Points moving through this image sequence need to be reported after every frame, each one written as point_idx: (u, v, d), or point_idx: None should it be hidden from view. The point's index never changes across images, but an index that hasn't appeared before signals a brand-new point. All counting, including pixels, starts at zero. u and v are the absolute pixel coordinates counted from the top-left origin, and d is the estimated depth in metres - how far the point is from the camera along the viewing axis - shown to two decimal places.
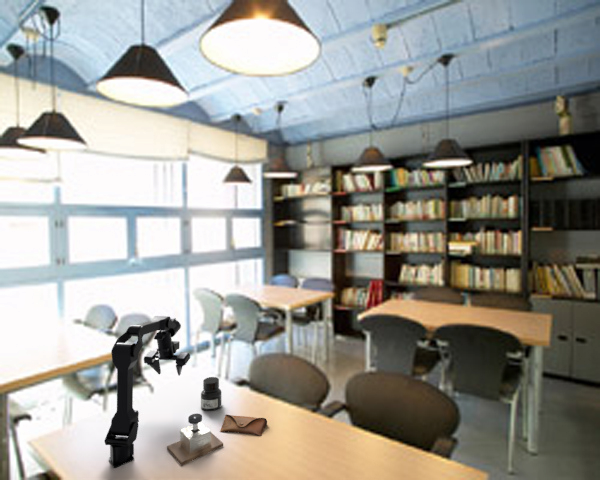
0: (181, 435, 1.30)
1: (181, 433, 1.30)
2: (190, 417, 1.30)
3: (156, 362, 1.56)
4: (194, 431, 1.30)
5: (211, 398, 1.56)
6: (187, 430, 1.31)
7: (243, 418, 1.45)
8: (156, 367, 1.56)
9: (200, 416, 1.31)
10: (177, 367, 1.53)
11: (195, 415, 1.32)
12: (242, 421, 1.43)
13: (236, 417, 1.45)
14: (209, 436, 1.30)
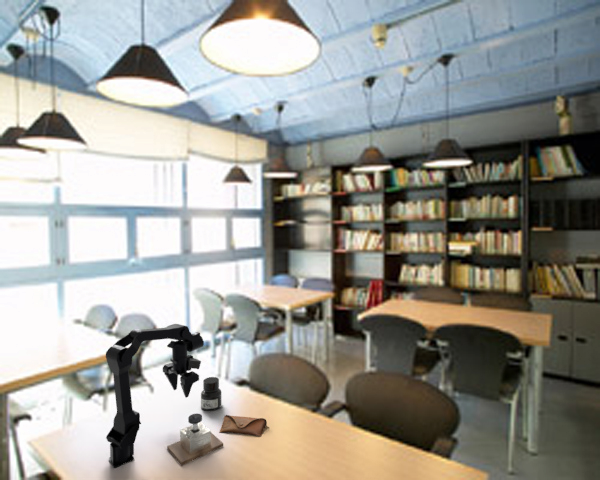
0: (181, 435, 1.30)
1: (181, 433, 1.30)
2: (190, 417, 1.30)
3: (173, 375, 1.48)
4: (194, 431, 1.30)
5: (211, 398, 1.56)
6: (187, 430, 1.31)
7: (243, 418, 1.44)
8: (171, 380, 1.47)
9: (200, 416, 1.31)
10: (181, 385, 1.39)
11: (195, 415, 1.32)
12: (241, 422, 1.43)
13: (236, 417, 1.45)
14: (209, 436, 1.30)
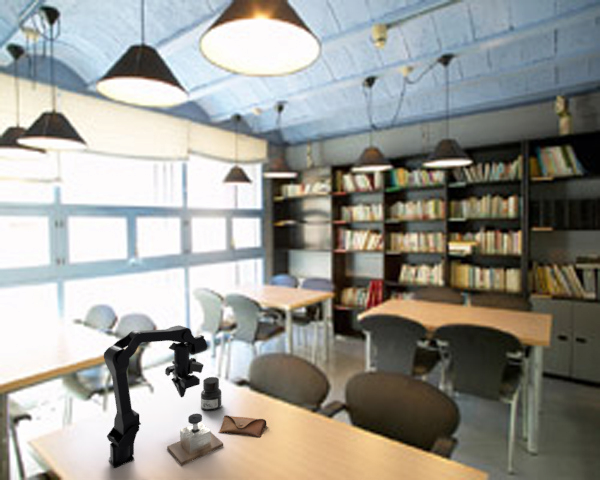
0: (181, 435, 1.30)
1: (181, 433, 1.30)
2: (190, 417, 1.30)
3: None
4: (194, 431, 1.30)
5: (211, 398, 1.56)
6: (187, 430, 1.31)
7: (242, 419, 1.44)
8: None
9: (200, 416, 1.31)
10: (176, 385, 1.40)
11: (195, 415, 1.32)
12: (241, 422, 1.42)
13: (235, 418, 1.44)
14: (209, 436, 1.30)
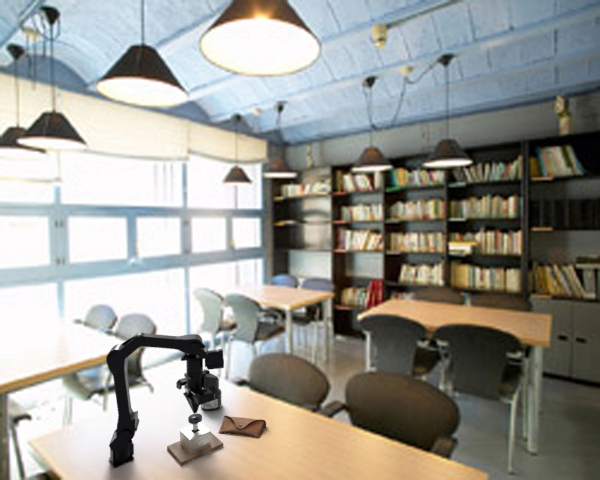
0: (181, 435, 1.30)
1: (181, 433, 1.30)
2: (190, 417, 1.30)
3: (193, 396, 1.30)
4: (194, 431, 1.30)
5: None
6: (187, 430, 1.31)
7: (242, 419, 1.44)
8: None
9: (200, 416, 1.31)
10: (189, 400, 1.28)
11: (195, 415, 1.32)
12: (241, 422, 1.42)
13: (235, 418, 1.44)
14: (209, 436, 1.30)
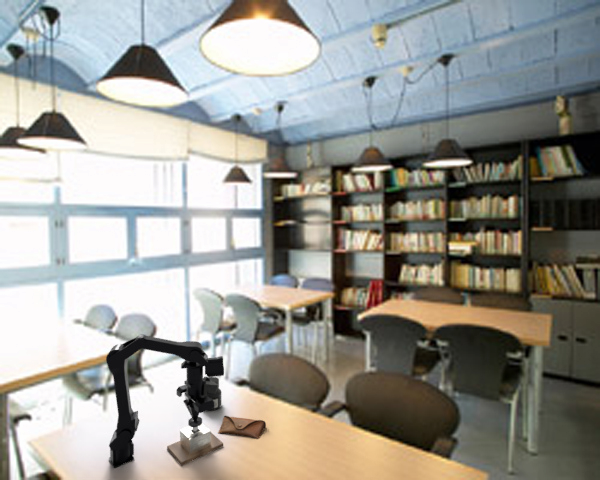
0: (181, 435, 1.30)
1: (181, 433, 1.30)
2: (190, 420, 1.30)
3: (193, 403, 1.31)
4: None
5: (211, 398, 1.56)
6: (187, 430, 1.31)
7: (242, 420, 1.43)
8: None
9: (200, 419, 1.31)
10: (189, 408, 1.28)
11: None
12: (240, 423, 1.42)
13: (235, 419, 1.44)
14: (209, 436, 1.30)
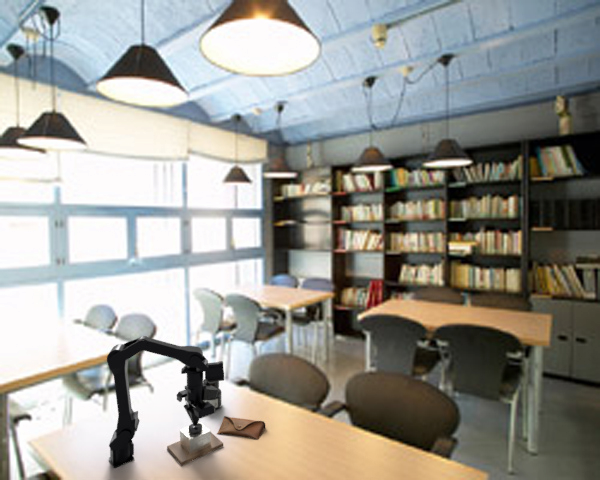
0: (181, 435, 1.30)
1: (181, 433, 1.30)
2: (190, 427, 1.30)
3: (193, 408, 1.31)
4: None
5: (211, 398, 1.56)
6: (187, 430, 1.31)
7: (241, 420, 1.43)
8: None
9: (200, 426, 1.31)
10: (189, 413, 1.28)
11: None
12: (240, 423, 1.41)
13: (234, 419, 1.44)
14: (209, 436, 1.30)
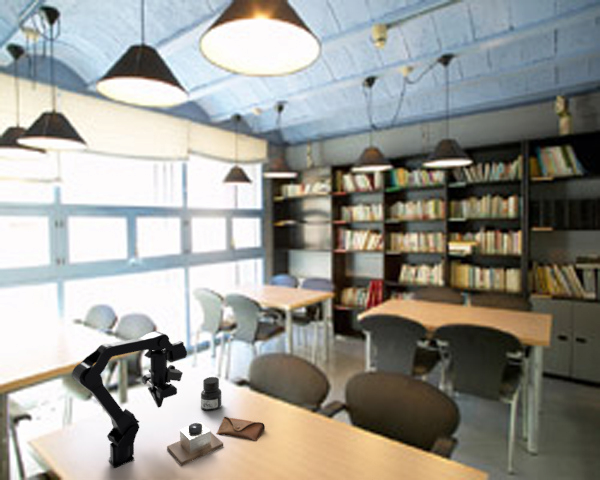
0: (181, 435, 1.30)
1: (181, 433, 1.30)
2: (190, 427, 1.30)
3: None
4: None
5: (211, 398, 1.56)
6: (187, 430, 1.31)
7: (240, 421, 1.42)
8: None
9: (200, 426, 1.31)
10: (153, 395, 1.32)
11: (195, 424, 1.32)
12: (239, 424, 1.41)
13: (233, 420, 1.43)
14: (209, 436, 1.30)
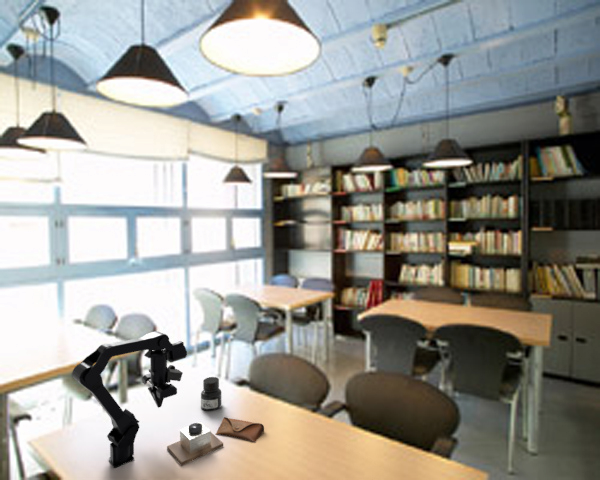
0: (181, 435, 1.30)
1: (181, 433, 1.30)
2: (190, 427, 1.30)
3: None
4: None
5: (211, 398, 1.56)
6: (187, 430, 1.31)
7: (240, 422, 1.42)
8: None
9: (200, 426, 1.31)
10: (153, 395, 1.32)
11: (195, 424, 1.32)
12: (238, 425, 1.40)
13: (233, 420, 1.43)
14: (209, 436, 1.30)
